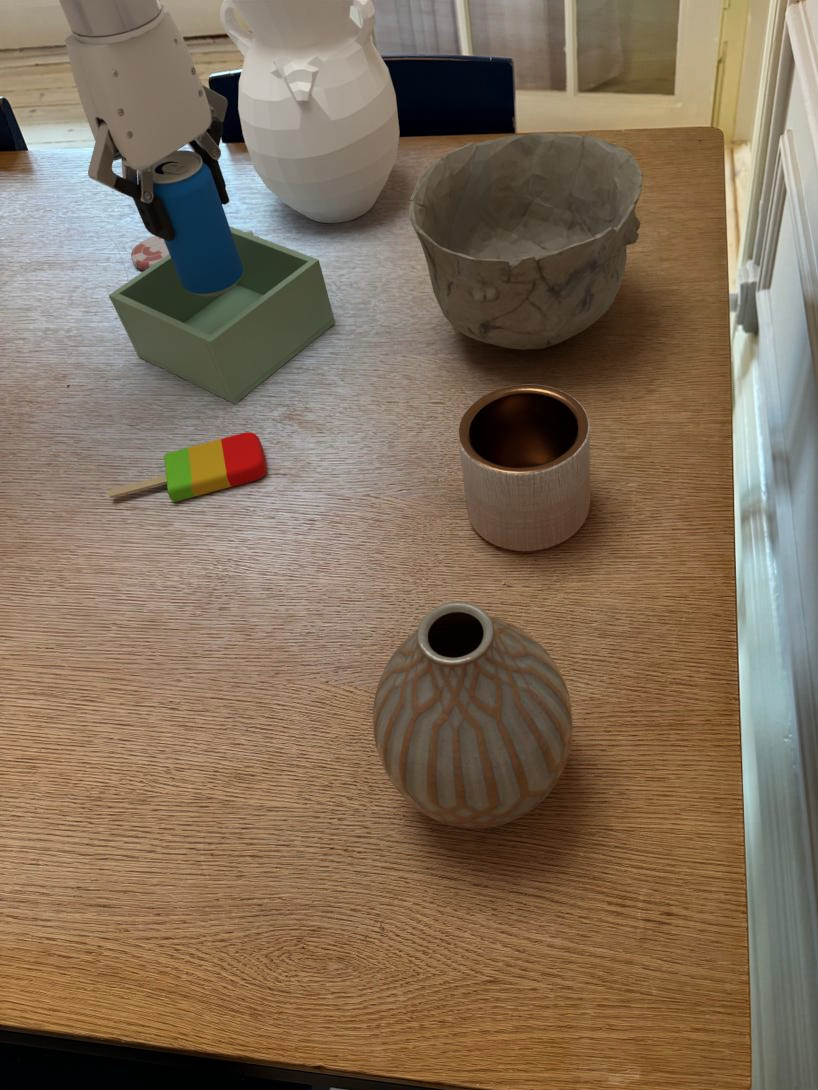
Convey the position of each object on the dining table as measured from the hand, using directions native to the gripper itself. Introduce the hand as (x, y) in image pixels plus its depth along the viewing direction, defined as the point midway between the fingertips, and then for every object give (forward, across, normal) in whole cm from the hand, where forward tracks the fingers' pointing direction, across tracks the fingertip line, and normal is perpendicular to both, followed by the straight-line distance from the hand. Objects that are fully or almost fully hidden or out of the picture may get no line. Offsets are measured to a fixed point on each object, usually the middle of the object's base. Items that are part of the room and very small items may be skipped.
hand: (190, 216), depth 86 cm
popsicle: (+14, +18, +12) cm, 26 cm away
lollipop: (+14, -10, -18) cm, 25 cm away
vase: (+14, +27, +54) cm, 62 cm away
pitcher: (+14, -27, -9) cm, 32 cm away
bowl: (+14, -18, +27) cm, 35 cm away
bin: (+14, 0, 0) cm, 14 cm away
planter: (+14, +4, +42) cm, 45 cm away
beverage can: (+7, 0, 0) cm, 7 cm away
